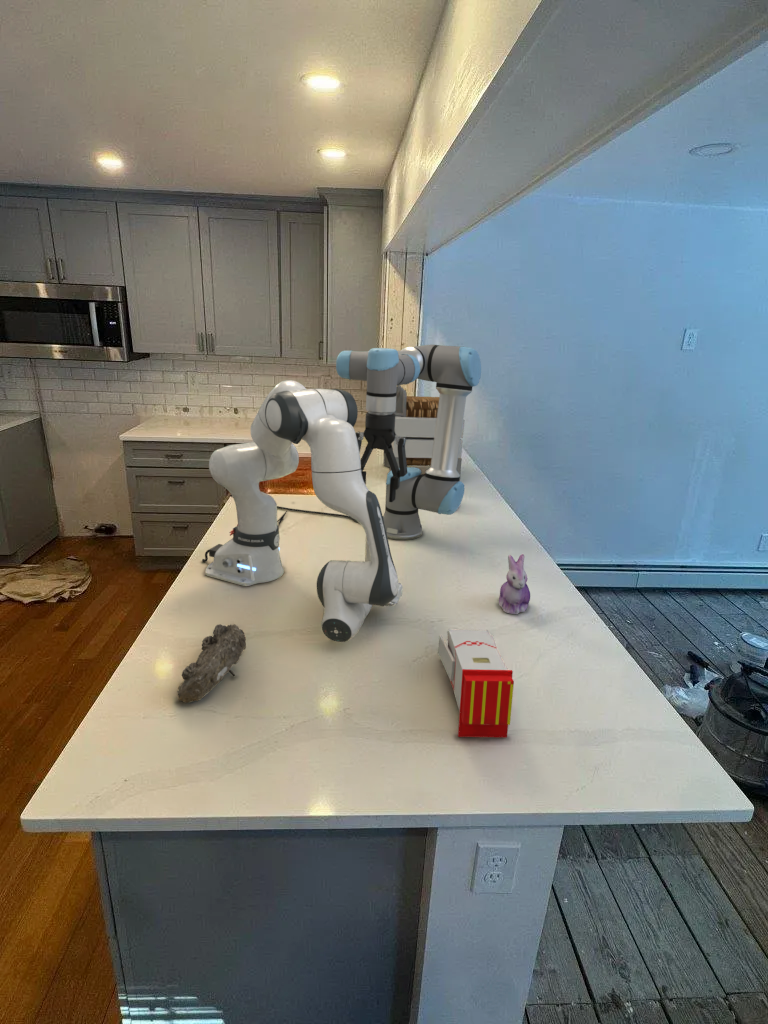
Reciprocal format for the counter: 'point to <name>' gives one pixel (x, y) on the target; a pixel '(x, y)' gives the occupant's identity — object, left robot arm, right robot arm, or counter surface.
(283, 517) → the feather
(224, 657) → the fossil
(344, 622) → the left robot arm
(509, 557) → the figurine
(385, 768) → the counter surface
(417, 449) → the grey slatted crate
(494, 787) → the counter surface
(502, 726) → the toy
